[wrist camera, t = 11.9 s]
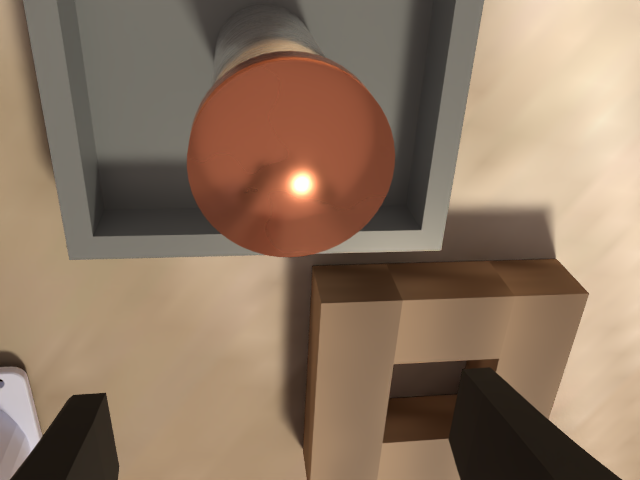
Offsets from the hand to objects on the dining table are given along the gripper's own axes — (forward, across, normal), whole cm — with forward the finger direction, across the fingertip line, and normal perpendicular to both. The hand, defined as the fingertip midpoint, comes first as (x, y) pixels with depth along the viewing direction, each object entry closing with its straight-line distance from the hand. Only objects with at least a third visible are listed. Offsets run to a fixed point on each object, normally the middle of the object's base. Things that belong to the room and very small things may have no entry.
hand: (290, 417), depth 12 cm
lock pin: (+10, 0, -5) cm, 11 cm away
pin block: (+10, -7, +8) cm, 15 cm away
